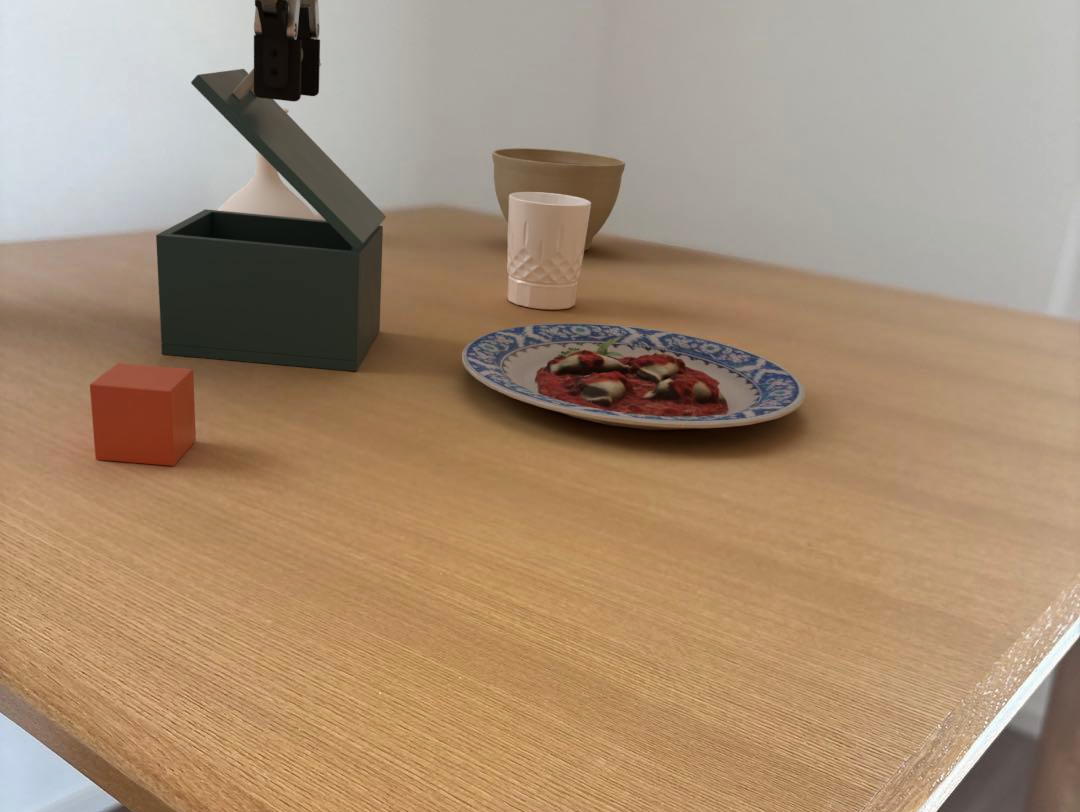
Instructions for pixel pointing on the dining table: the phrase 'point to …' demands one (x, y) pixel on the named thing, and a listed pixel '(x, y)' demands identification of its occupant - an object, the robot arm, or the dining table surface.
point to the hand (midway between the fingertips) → (287, 94)
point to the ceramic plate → (633, 376)
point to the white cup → (545, 248)
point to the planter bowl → (560, 179)
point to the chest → (268, 290)
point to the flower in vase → (267, 195)
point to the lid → (292, 153)
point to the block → (143, 414)
